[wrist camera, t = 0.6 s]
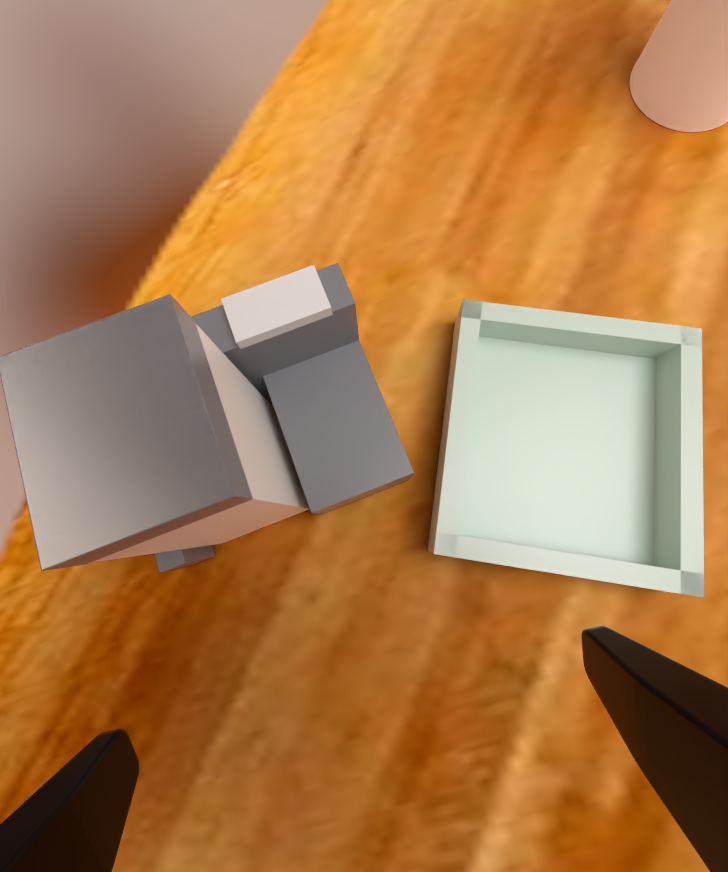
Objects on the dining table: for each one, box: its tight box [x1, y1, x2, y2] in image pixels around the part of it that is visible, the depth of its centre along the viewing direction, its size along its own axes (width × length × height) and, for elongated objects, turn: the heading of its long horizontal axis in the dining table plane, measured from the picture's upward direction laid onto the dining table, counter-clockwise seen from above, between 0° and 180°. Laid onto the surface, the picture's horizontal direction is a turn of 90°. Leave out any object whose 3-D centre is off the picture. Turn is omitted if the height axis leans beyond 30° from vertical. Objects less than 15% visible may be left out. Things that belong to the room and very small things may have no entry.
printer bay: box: [154, 263, 414, 573], centre depth 19 cm, size 9×12×7 cm
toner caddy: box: [0, 294, 310, 571], centre depth 17 cm, size 6×5×12 cm
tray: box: [428, 300, 704, 597], centre depth 21 cm, size 13×12×2 cm
